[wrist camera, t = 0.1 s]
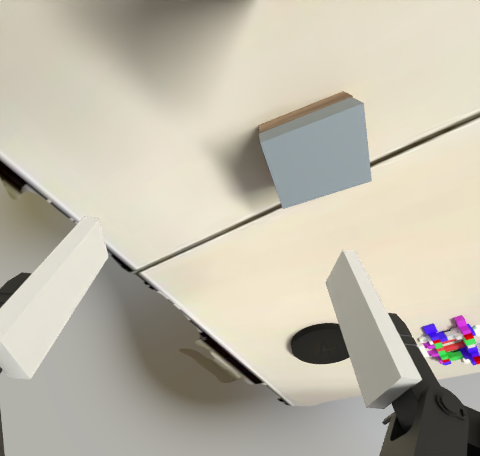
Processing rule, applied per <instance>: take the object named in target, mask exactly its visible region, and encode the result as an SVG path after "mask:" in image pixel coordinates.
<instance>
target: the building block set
mask: <svg viewBox="0 0 480 456" xmlns="http://www.w3.org/2000/svg"><path fill="white" fill-rule="evenodd" d="M454 320H455V322H456V325H457V327H455V328H452V329H450V330H451V331H448V332H445V333H444V332H443V331H442V332H439V333H436V332H438V331H437V329H436V327H435V325H434V324H430V325H427V326H423V329H424V331H425V333H426V335H427V334H429V335H427V336H421V337H420V338H419V340H420V341H421V343H422V344H419V345H417V347H419V349H420V351H421V353H422V354H423V356H424V357H428V356H433V357H437V359H438V360H439V362H440V364H441V363H442V364H443V365H448V364H451V361H454V360H458V359H463V361H464V363H465V364H466V363H470V362H471V363H472V364H473V365H476V364H480V344H476V342H475V339H474V337H473V336H479V337H480V326H477V325H475V326H474V327H473V328H472V327H471V326H470V325H469V324H466V321H465V319H464V318H463V316H462V315H461V316H458V317H454ZM429 336H430V337H429ZM460 339H462V340H463V342H459V343H455V344H451V345H448V346H444V347H443V346H442V344H445V343H448V342H452V341H456V340H460ZM427 341H429V342H427ZM475 344H476V345H475ZM463 347H465V348H463ZM425 348H428V349H433V348H436V349H435V350H431V351H426V349H425ZM459 348H461V349H459ZM455 349H459V351H457V352H452V351H451V350H455ZM448 351H450V352H448Z"/></svg>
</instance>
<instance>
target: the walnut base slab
mask: <svg viewBox="0 0 480 456" xmlns="http://www.w3.org/2000/svg"><path fill="white" fill-rule="evenodd" d="M350 97H352V98H353V96H352V95H350V94H348V93H346V92H344V91H343V92H341V93H338V94H336V95H333V96H331V97H328V98H326V99H323V100H321V101H318V102H316V103H313V104H311V105H308V106H306V107H303V108H301V109H298V110H296V111H293V112H291V113H288V114H286V115H283V116H281V117H278V118H276V119H273V120H271V121H268V122H266V123H263V124H261V125H259V132H260V133H261V132H264V131H266V130H269V129H272V128H274V127H277V126H279V125H282V124H284V123H287V122H289V121H292V120H294V119H297V118H299V117H302V116H304V115H307V114H309V113H312V112H314V111H317V110H320V109H322V108H325V107H327V106H330V105H332V104H335V103H337V102H340V101H342V100H345V99H347V98H350Z"/></svg>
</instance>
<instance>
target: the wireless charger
mask: <svg viewBox="0 0 480 456" xmlns="http://www.w3.org/2000/svg"><path fill="white" fill-rule="evenodd" d="M291 346H292V352H293V354H294V356H295V357H296V358H298V359H299V360H301V361H304V362H307V363H312V364H330V363H335V362H339V361H342V360H345V359H347V358H349V357H350V356H349V353H348V350H347V347H346V344H345V341H344V338H343V335H342V332H341V329H340V326H339V324H335V323H323V324H316V325H312V326H309V327H306V328H304V329H302V330H301V331H299V332H298V333H297V334H295V336H294V337H293V338H292V341H291Z"/></svg>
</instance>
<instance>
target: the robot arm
mask: <svg viewBox="0 0 480 456" xmlns="http://www.w3.org/2000/svg"><path fill="white" fill-rule="evenodd" d="M107 258H108V253H107V249H106V244H105V240H104V235H103V231H102V226H101V222H100V218H92V217H85V216H84V218H83V219H82V220H81V221H80V222H79V223H78V224H77V225H76V226H75V227H74V229H73V230H72V231H71V232H70V233H69V234H68V235H67V236H66V237H65V239H63V241H62V242H61V243H60V244H59V245H58V246H57V247H56V248H55V249H54V250H53V251H52V253H51V254H50V255H49V256H48V257H47V258H46V259H45V260H44V261H43V262H42V263H41V264H40V266H39V267H38V268H37V269H36V270H35V271H34V272H33V273H32V274H30V273H20V274H19V275H17V276H16V277H14V278H12V279H11V280H9V281H8V282H7V283H5V285H4V286H3V287H2V288H1V289H0V373H1V372H2V371H3V372H4V373H5V374H6V375H7V376H8V377H9V378H19V379H31V378H32V376H33V375H34V373H35V371H36V370H37V368H38V367H39V365H40V364H41V362H42V360H43V359H44V357H45V356H46V354H47V353H48V351H49V349H50V347H51V346H52V345H53V343H54V341H55V340H56V338H57V337H58V335H59V334H60V332H61V330H62V329H63V327H64V326H65V324H66V323H67V321H68V319H69V318H70V316H71V315H72V313H73V312H74V310H75V309H76V307H77V305H78V304H79V302H80V301H81V299H82V298H83V296H84V294H85V293H86V291H87V290H88V288H89V287H90V285H91V283H92V282H93V280H94V279H95V277H96V276H97V274H98V272H99V271H100V269H101V268H102V266H103V265H104V263H105V261H106V260H107ZM326 286H327V289H328V292H329V295H330V298H331V301H332V304H333V307H334V310H335V313H336V316H337V319H338V322H339V326H340V329H341V332H342V335H343V338H344V341H345V344H346V347H347V350H348V353H349V356H350V359H351V362H352V365H353V368H354V372H355V375H356V378H357V381H358V384H359V387H360V390H361V393H362V396H363V399H364V402H365V405H366V407H367V408H379V409H385V408H386V407H387V406H388V405H389V404H391V403H392V406H393V408H394V411H395V412H394V413H392V414H391V415H390V416H388V417H387V418H385V419H384V421H383V422H382V423H383V424H387V423H389V422H390V423H389V426H388V430H387V433H386V436H385V439H384V442H383V446H382V450H381V452H380V456H480V412H478V411H476V410H473V409H471V408H469V407H467V406H464V405H463V404H462V403H461V401H460V400H459V399H458V398H457V397H456V396H455V395H454V394H453V393H452V392H450V391H449V390H447V389H445V388H443V387H441V386H440V384H439V383H438V381H437V379H436V378H435V376H434V374H433V372H432V370H431V369H430V367H429V365H428V363H427V362H426V360H425V358H424V356H423V354H422V353H421V351H420V349H419V347H417V344H416V342H415V340H414V338H412V335H411V333H410V331H409V329H408V328H407V326H406V324H405V323H404V322H403V321H402V320H401V319H400V318H399V317H398V316H397V314H393V313H388V312H387V310H386V309H385V307H384V305H383V303H382V301H381V299H380V297H379V295H378V293H377V291H376V289H375V287H374V285H373V283H372V281H371V280H370V278H369V276H368V274H367V272H366V270H365V268H364V266H363V264H362V262H361V260H360V258H359V256H358V254H357V252H356V251H348V250H342V252H341V254H340V256H339V258H338V260H337V262H336V264H335V266H334V268H333V270H332V271H331V273H330V275H329V277H328V279H327V281H326ZM0 456H5V455H4V444H3V433H2V423H1V412H0Z"/></svg>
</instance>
